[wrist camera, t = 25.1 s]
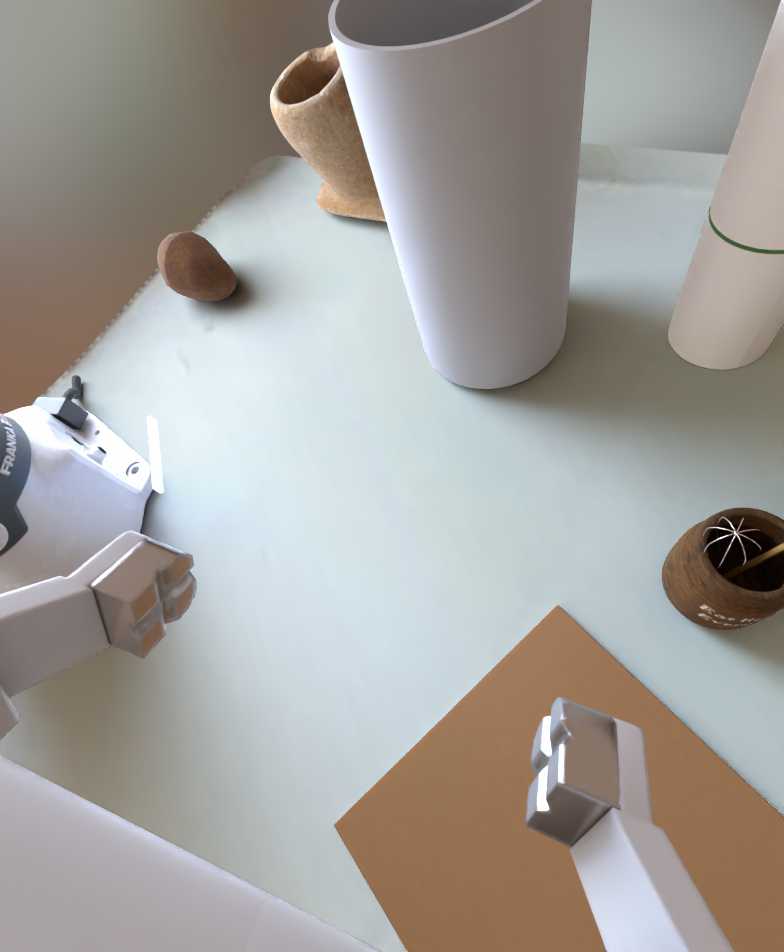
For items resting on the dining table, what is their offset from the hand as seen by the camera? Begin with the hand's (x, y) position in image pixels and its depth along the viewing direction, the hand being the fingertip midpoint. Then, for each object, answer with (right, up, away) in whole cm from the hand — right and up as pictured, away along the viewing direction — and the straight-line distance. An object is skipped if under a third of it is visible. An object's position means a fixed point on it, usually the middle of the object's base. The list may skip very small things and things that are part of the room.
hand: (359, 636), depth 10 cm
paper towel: (+11, -18, +17) cm, 27 cm away
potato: (-21, +26, +48) cm, 59 cm away
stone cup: (-1, +35, +47) cm, 59 cm away
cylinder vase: (+10, +16, +34) cm, 39 cm away
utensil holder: (+21, -4, +21) cm, 30 cm away
